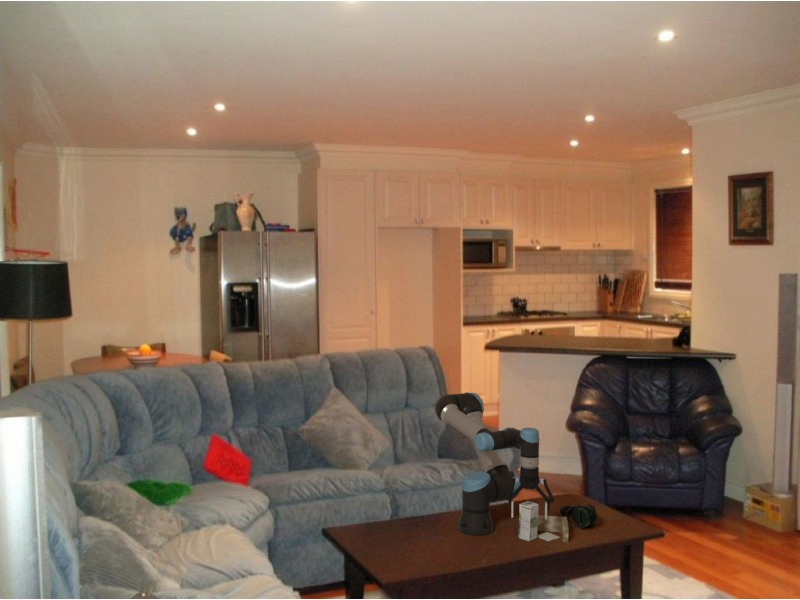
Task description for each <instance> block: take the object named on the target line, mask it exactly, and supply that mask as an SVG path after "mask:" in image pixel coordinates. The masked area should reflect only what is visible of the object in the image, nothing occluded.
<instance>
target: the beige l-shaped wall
mask: <svg viewBox="0 0 800 600" xmlns="http://www.w3.org/2000/svg"><path fill="white" fill-rule="evenodd" d="M568 522H569V521H567V517H561V516H555V515H547V520H546V519H545V515H539V514H538V532H549V533H551V532H552V533H561V536H562V542H563V543H569V523H568Z"/></svg>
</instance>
